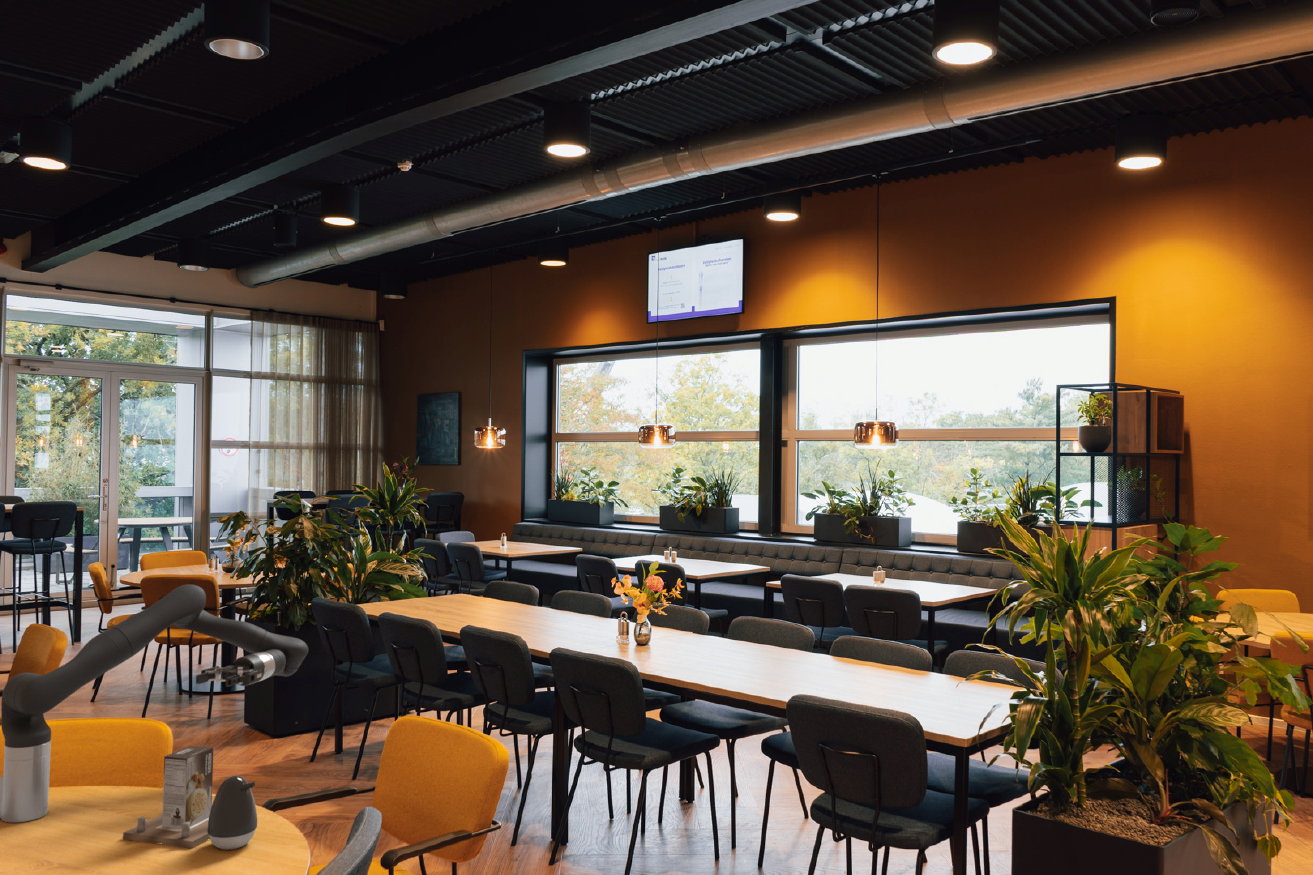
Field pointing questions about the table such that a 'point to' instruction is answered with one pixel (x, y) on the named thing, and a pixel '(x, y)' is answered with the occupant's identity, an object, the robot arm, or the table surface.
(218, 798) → the pump dispenser
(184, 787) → the coffee box
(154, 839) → the peg stand
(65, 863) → the table surface
